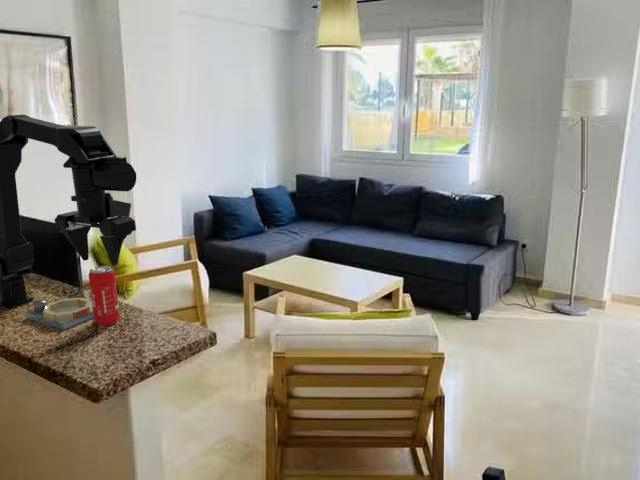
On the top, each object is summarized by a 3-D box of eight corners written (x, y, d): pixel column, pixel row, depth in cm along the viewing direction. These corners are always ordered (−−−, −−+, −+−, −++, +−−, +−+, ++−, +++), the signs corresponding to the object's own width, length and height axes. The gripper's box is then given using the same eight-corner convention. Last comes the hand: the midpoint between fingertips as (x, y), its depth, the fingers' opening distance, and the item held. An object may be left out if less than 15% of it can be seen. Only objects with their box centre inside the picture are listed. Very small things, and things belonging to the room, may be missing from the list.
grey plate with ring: (26, 318, 126) (24, 303, 126) (66, 303, 135) (64, 289, 134) (63, 330, 120) (61, 314, 119) (103, 313, 128) (101, 299, 127)
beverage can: (111, 327, 121) (105, 273, 118) (89, 325, 122) (82, 272, 119) (124, 317, 126) (118, 266, 123) (103, 316, 127) (97, 264, 124)
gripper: (152, 185, 118) (160, 257, 122) (93, 181, 128) (102, 248, 132) (107, 194, 109) (118, 272, 113) (48, 189, 119) (59, 261, 123)
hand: (100, 262), depth 120 cm, fingers open, 9 cm apart
